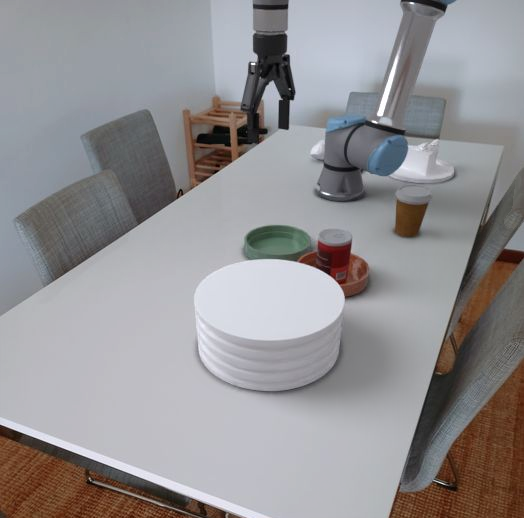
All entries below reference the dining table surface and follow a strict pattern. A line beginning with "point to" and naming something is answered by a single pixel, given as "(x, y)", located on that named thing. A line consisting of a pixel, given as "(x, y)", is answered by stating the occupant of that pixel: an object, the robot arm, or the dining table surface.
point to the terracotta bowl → (356, 272)
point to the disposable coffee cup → (411, 209)
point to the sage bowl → (277, 243)
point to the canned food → (334, 253)
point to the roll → (318, 150)
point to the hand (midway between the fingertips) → (269, 135)
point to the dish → (423, 165)
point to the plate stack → (269, 323)
